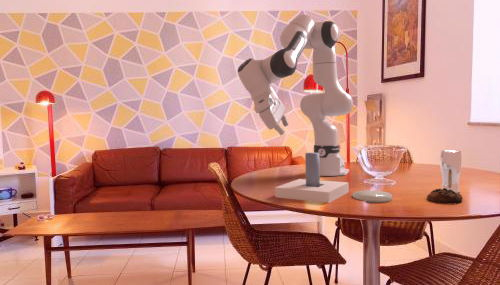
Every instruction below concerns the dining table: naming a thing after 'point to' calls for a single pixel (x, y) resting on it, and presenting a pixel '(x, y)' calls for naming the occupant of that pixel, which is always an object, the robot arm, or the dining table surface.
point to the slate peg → (312, 169)
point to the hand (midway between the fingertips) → (284, 129)
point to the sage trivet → (373, 196)
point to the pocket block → (312, 191)
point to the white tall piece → (450, 169)
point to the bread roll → (444, 196)
